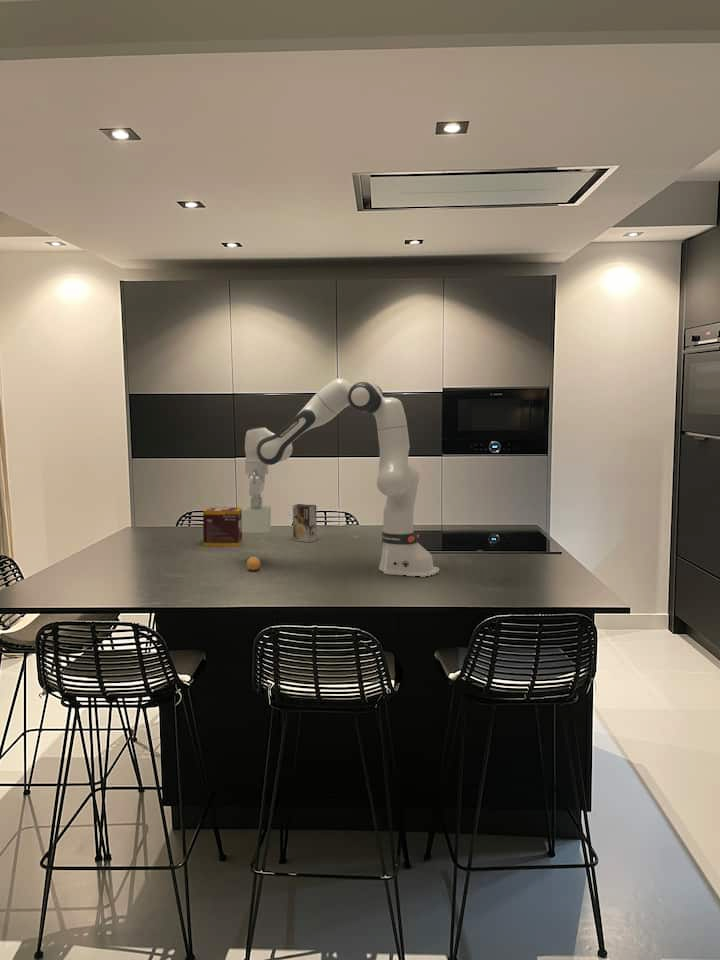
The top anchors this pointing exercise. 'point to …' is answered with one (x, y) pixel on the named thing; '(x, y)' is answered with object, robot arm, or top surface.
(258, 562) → the ball
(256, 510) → the pale sage box
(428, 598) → the top surface
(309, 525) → the coffee box
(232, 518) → the supplement box
